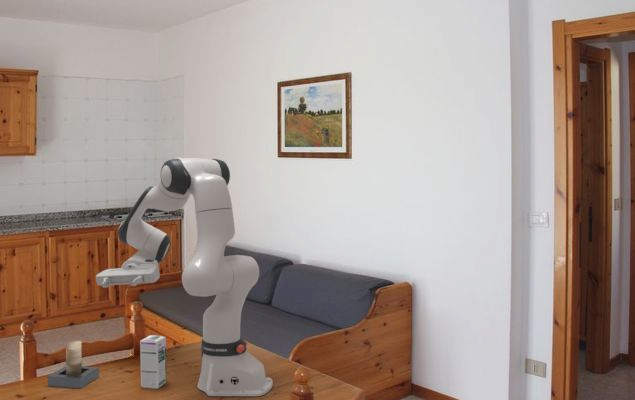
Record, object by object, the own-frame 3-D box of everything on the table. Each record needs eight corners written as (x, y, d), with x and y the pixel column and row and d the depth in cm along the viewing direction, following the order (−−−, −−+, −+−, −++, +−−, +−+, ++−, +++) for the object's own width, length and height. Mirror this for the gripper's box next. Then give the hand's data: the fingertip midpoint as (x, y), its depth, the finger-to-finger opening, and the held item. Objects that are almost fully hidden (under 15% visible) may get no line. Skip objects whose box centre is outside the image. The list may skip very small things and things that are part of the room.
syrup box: (158, 389, 186) (158, 340, 185) (139, 387, 187) (139, 339, 186) (166, 382, 191) (166, 335, 190) (148, 381, 192) (148, 334, 192)
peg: (84, 379, 193) (84, 341, 193) (76, 384, 189) (76, 345, 188) (71, 378, 194) (71, 340, 193) (63, 383, 190) (62, 344, 189)
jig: (98, 376, 196) (98, 367, 196) (80, 388, 185) (80, 378, 185) (67, 374, 198) (67, 365, 197) (47, 386, 187) (47, 376, 187)
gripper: (104, 263, 217) (86, 277, 203) (161, 259, 214) (146, 273, 201) (107, 280, 218) (89, 295, 205) (164, 277, 215) (149, 292, 202)
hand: (118, 284), depth 203 cm, fingers open, 8 cm apart
